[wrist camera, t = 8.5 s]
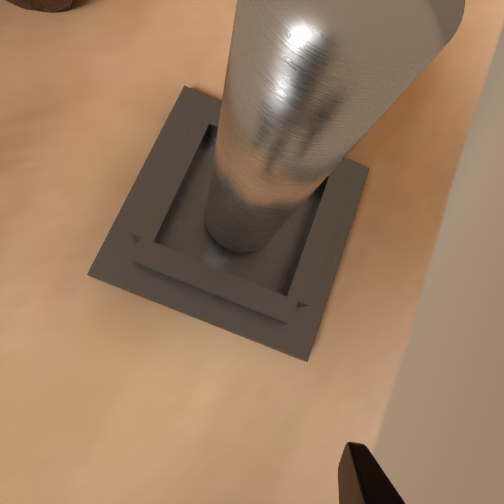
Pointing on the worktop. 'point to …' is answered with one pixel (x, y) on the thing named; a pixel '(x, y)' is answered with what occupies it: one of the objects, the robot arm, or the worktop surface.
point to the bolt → (43, 5)
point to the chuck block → (217, 257)
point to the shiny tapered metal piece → (308, 99)
